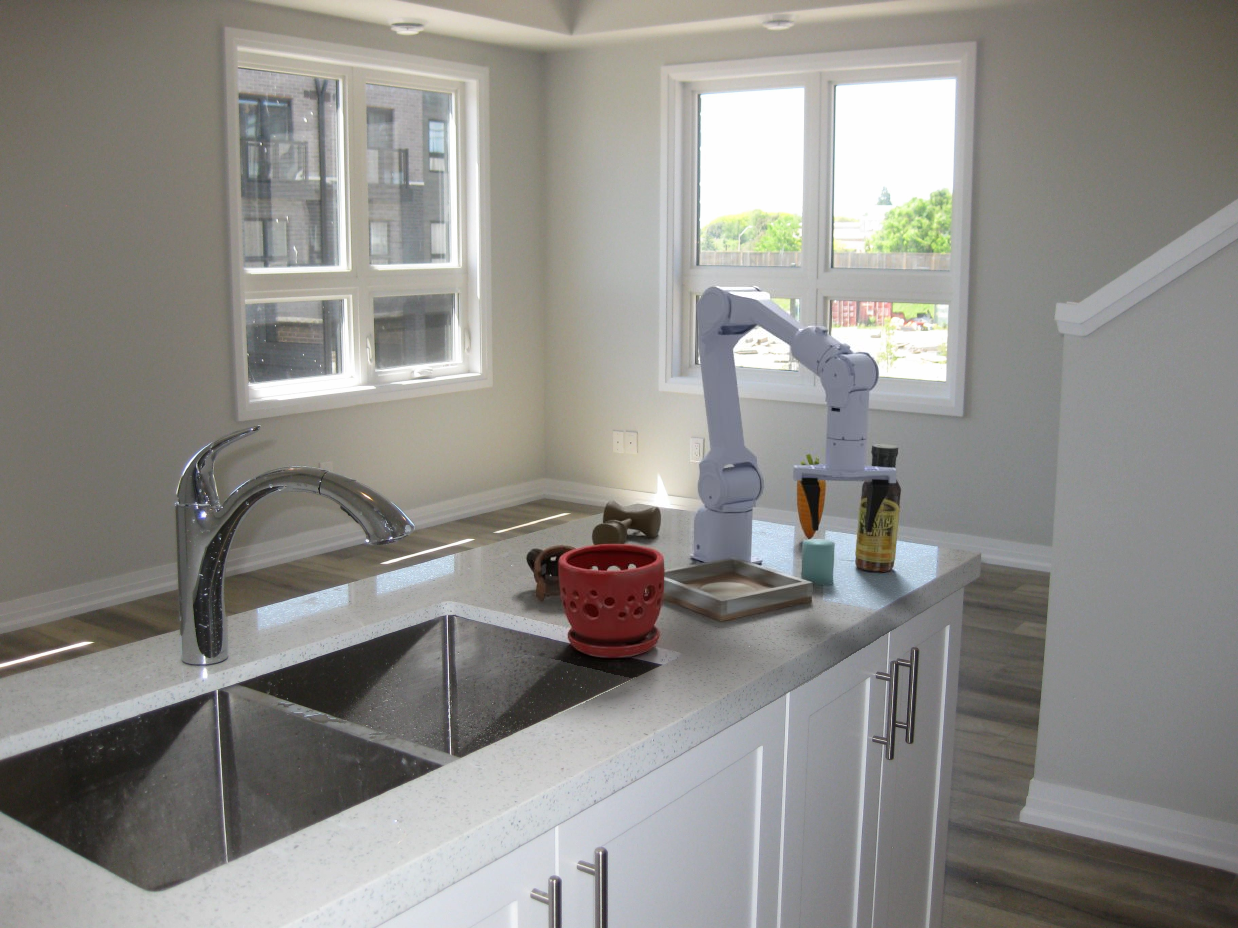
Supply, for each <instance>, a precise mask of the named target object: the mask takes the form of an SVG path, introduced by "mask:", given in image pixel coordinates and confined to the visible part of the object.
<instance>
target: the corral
mask: <svg viewBox="0 0 1238 928" xmlns="http://www.w3.org/2000/svg"><path fill="white" fill-rule="evenodd" d="M813 586H814V585H813V582H810V581H807V580H804V579H801V578H800V577H797V576H794V575H790V574H788V573H784V572H782V571H778V570H776V569H772V568H769V567H766V566H764V565H759V564H758V563H757V564H754V563H751V562H748V561H745V560H742V559H739V558H735V557H733V558H727V559H722V560H716V561H711V562H701V563H696V564H695V563H694V564H690V565H684V566H678V567H673V568H667V569H665V576H664V593H663V599H664V600H666V601H670V602H671V603H674V604H676V605H680V606H682V607H685V608H686V609H688V610H692V611H694V612H697V613H699V614H701V615H704V616H707V617H710V618H712V619H714V620H717V621H718V622H719V621H720V622H724V621H729V620H732V619H738V618H743V617H747V616H751V615H756V614H760V613H761V614H762V613H764V612H765V613H766V612H770V611H775V610H779V609H783V608H787V607H792V606H796V605H797V606H798V605H801V604H805V603H811V602H812V601H813ZM645 593H649V590H648V588H646V590H645Z"/></svg>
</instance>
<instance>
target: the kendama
mask: <svg viewBox="0 0 1238 928" xmlns="http://www.w3.org/2000/svg"><path fill="white" fill-rule="evenodd" d="M661 524H662V513H661V510H660V508H659V507H658V506H654V507H650V508H647V509H645V510H629V509H626V508H625V507H623V506H621V505H620V504H619V503H618V502H616V501H615V500H608V502H607V503H606V505H605V507H604V510H603V515H602V522H601V523H599V524H597V525H596V526H595V527H594V528H593V530H592V534H591V540H592V543H593V545H600V544H624V542H625V541H626V539H627V537H628V530H635V531H637V532H641V533H642V534H643V535H645V536H646V537H648V538H650V539H654V538H657V536H658V535H659V533H660V529H661Z"/></svg>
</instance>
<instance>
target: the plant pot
mask: <svg viewBox="0 0 1238 928" xmlns="http://www.w3.org/2000/svg"><path fill="white" fill-rule="evenodd" d="M558 564H559V586H560V593H561V595H560V599H561V603H562V608H563V610H564V614H565V616H566V619H567V621H568V624H569V625H570V629H568V631H567V640H568V641H569V643H570V645H571V646H572V647H573V648H574V649H575V650H576V651H579V652H581V653H582V654H585V655H588V656H591V657H594V658H595V657H596V658H604V659H605V658H608V659H617V658H623V659H629V658H631V657H635V656H637V655H641V654H643V653H646V652H648V651H650V650H651V649H652V648H654V646H656V644H657V643H658V641H659V639H660V636H661V632H660V630H659V628H658V626H656V622H657V620H658V618H659V616H660V613H661V609H662V606H663V599H664V598H663V593H664V576H665V570H666V569H665V558H664V555H663V554H662V553H661V552H660V551H658V550H656V549H653V548H651V547H648V546H642V545H637V544H629V543H627V544H626V543H621V544H600V545H594V544H593V545H586V546H581V547H578V548H576V549H574V550H571V551H569V552H566V553H564V554H563V555H562V556H561V557H560V558H559V562H558ZM630 565H634V566H635V567H634V568H629V566H630ZM591 567H596V568H597V569H590V568H591ZM611 567H616V568H618V570H608V569H610V568H611ZM646 588H648V590H649V593H648V592H646ZM647 593H648V594H647Z"/></svg>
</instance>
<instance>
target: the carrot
mask: <svg viewBox="0 0 1238 928" xmlns="http://www.w3.org/2000/svg"><path fill="white" fill-rule="evenodd" d="M806 459H807V462H808V464H807V463H806V462H805V461H801V462H800V465H820V464H819V463H820V459H819V458H817V457H816V458H814V461H813V458H812V454H810V453H807V454H806ZM818 482H819V487H820V488H821V489H820V498H819V525H820V524H821V521H822V517H823V513H824V508H825V501H826V489H827V488H826V487H827V484H826V483H827V482H826V480H818ZM796 505H797V513H798V519H799V523H800V527H801V529H802V531H803V533H804V536H805V537H806V539H813V537H814V536H815V534H816V532H817V531H814V530H813V529H812V520H811V514H810V509H809V505H808V502H807V499H806V496H805V493H804V490H803V488H802V485H801V483H800V481H796Z"/></svg>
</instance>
